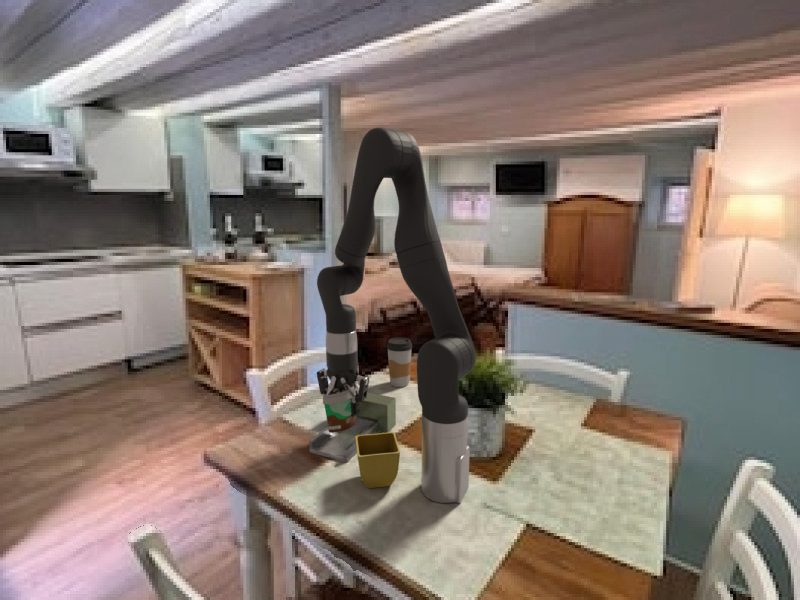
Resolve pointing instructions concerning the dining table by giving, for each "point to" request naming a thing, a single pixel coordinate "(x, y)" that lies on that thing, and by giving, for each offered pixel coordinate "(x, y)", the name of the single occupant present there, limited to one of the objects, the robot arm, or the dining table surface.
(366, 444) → the flower pot
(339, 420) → the food container
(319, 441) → the grey dustpan tray
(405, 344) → the coffee cup
